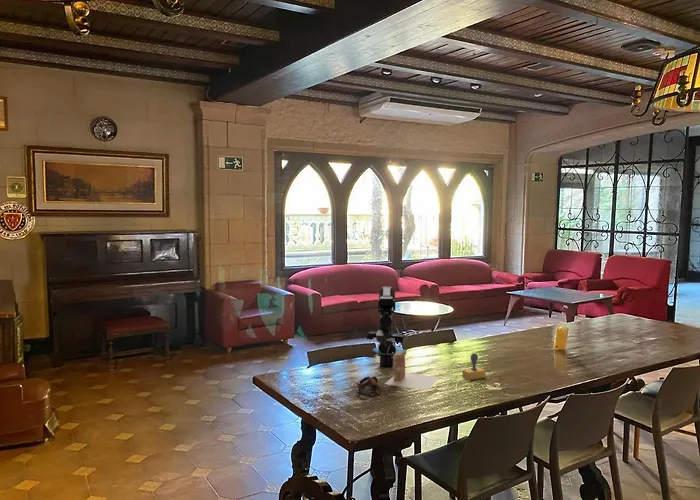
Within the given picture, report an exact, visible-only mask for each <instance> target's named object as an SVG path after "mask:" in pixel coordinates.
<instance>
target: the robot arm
mask: <svg viewBox="0 0 700 500" xmlns="http://www.w3.org/2000/svg"><path fill="white" fill-rule="evenodd" d="M377 303H378V305H377V308H378V309H377V312H378V314H379V313H380V314H379V315H380V316H379V324H380V325H379V327H378V330H377V331H372V330H371V331H369V332H367V334H366V336H365V337H366V340H373V339H374V338H376V342H378V343H379V344H378V347H377V348H378V354H377V355H378V357H379V366H378V367H379V368H383V369H384V368H385V369H392V368H394V367H393V355H394V354H395V353H396V347H395V346H396V345H395V344H394V342H395V343H399V344H404V342H406V341H407V335H405V334H399V333H398V334H396V335H394V332H393V327H394V324H393V314H394V313H395V311H396V292H395V290H394V289H393V287H392V286H383V287H382V286H381V290H379V292H378V302H377ZM392 352H394V353H392Z"/></svg>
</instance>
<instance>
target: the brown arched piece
mask: <svg viewBox="0 0 700 500" xmlns="http://www.w3.org/2000/svg"><path fill="white" fill-rule="evenodd" d="M356 387H357V391H359V392H362V391H365V392H366V388H371V389H376V390H375V393H376V396H379V395H380V394H381V389H380V386H379V383H378V378H377V376H366V377H363V378H362V379H360V380H359V381H358V383H357V384H356Z"/></svg>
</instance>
